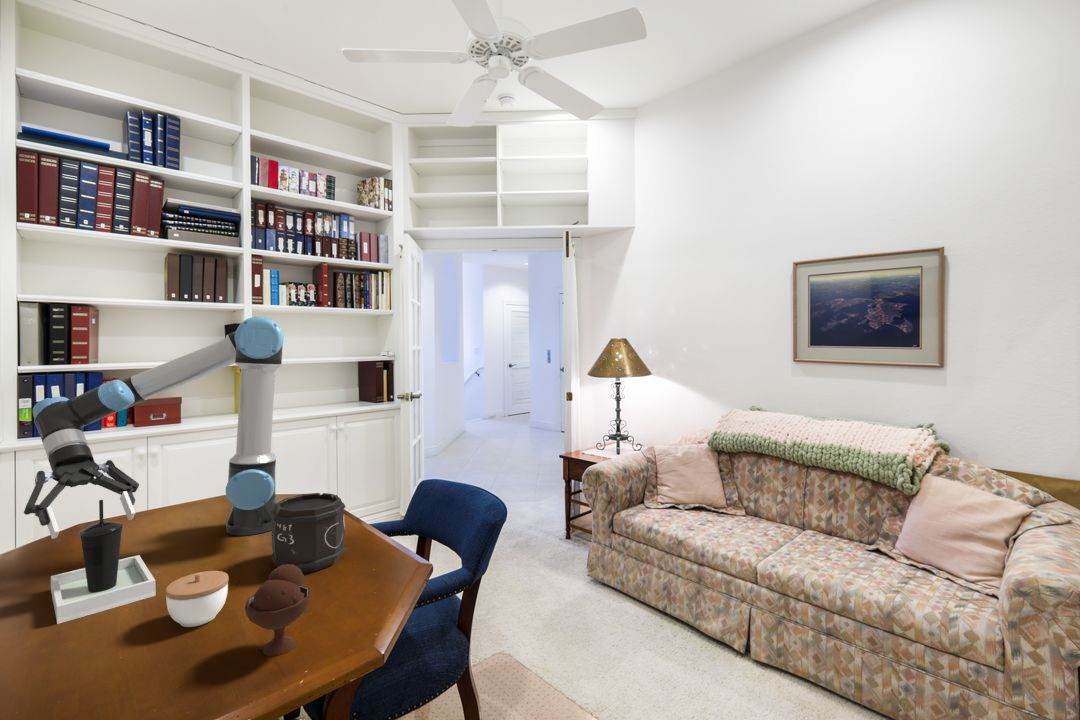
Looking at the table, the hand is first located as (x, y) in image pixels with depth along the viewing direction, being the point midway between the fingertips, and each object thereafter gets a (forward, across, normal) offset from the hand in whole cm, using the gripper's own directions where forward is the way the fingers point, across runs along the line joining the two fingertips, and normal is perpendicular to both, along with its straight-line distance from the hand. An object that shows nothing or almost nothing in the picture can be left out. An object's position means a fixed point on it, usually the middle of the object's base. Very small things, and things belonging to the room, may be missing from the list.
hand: (95, 525), depth 114 cm
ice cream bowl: (+50, -9, +28) cm, 58 cm away
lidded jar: (+34, -6, +12) cm, 36 cm away
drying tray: (+12, 0, -10) cm, 15 cm away
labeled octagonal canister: (+29, -36, +7) cm, 47 cm away
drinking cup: (+11, 0, -9) cm, 14 cm away
